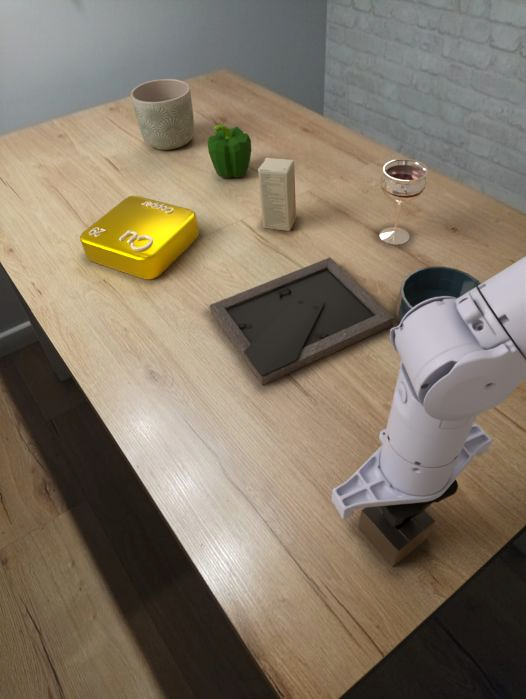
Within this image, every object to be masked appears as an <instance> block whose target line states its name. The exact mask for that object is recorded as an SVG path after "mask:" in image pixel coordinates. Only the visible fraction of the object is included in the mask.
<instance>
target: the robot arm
mask: <svg viewBox="0 0 526 699" xmlns="http://www.w3.org/2000/svg"><path fill="white" fill-rule="evenodd" d="M478 287H479V289H480V290H479V289H478V288H477V287H475V288H473V289H472V290H470V291H469V292H467V293H465V294H464V295H462V296H461V297H459V298H455V297H450V296H441V297H434V298H431V299H428V300H425V301H423V302H421V303H419V304H417V305H416V306H414V307H413V308H412V309H410V310H409V311H408V312H407V313H406V314H405V316H404V317H403V318H402V320H401V322H400V324H399V323H398V325H397V326H394V327H392V328H391V329H389V339H390V342H391V345H392V347H393V349H394V350H395V352H396V353H397V354H398V356H399V358H400V362H399V371H398V374H397V381H396V384H395V388H394V392H393V397H392V402H391V406H390V411H389V414H388V420H387V424H386V428H385V429H382V430H380V431H379V435H378V440H379V442H380V443H381V445H380V446H379V448H377V450H376V451H374V453H372V455H371V456H369V458H368V459H367V460H366V461H365V462H364V463H363V464H361V466H360V467H359V468H358V469H357V470H356V471H355V472H354V473H353V474H352V475H351V476H350V477H349V478H348V479H347V480H346V481H344V482H343V483H341V484H339V485H338V486H335V487H334V488H332V489H331V490H332V491H331V503H332V504H333V506H334V507H335V509H336V511H337V512H338V514H339V515H340V518H341V519H342V521H345V520H347V519H348V518H351V517H353V516H354V512H355V510H359V509H364V508H366V507H376V506H381V510H382V512H383V514H384V515H385V517H386V518H387V520H388V521H389V523H390V524H391V526H392V527H395V526H397V525H399V524H401V523H402V522H403V521H404V519H405V518H407V517H409V518H410V519H412V518H414V517H416V516H418V515H419V514H420V513H422V512H423V511H424V510H425V511H426V509H427V508H429V507H430V506H431V505H432V504H433V503H440V502H441V501H443V500H445V499H448V498H450V497H452V496H454V495H456V493H457V491H458V488H459V484H458V483H459V482H458V480H457V479H458V477H459V476H460V475H461V474H462V472H463V471H465V469H466V468H467V467H468V465H469V464H470V463H471V462H472V461H473V460H474V458H475V457H476V456H477V457H479V456H482V455H484V454H486V453H487V452H488V450H489V449H490V447H491V445H492V443H493V439H492V438H491V437H490V435H489V434H488V433H487V432H486V431H485V430H484V429H483V427H481V426H480V425H479V424H478V423H475V421H476V420H477V417H478V415H481V414H483V413H486V412H488V411H490V410H492V409H494V408H497V407H498V406H499V405H501V404H502V403H504V402H505V401H506V400H507V399H508V398H509V397H510V396H512V394H513V393H514V392H515V390H516V389H517V388H518V386H519V385H521V384H522V383H524V382H525V381H526V255H525V256H523V257H521V258H520V259H518V260H517V261H515V262H514V263H512V264H511V265H509V266H507V267H506V268H504V269H502V270H501V271H499V272H497V273H496V274H495V275H493V276H491V277H490V278H488V279H486V280H485V281H483V282H481V284H480V285H478ZM481 292H482V293H481ZM474 423H475V424H474Z"/></svg>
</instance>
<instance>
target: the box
mask: <svg viewBox="0 0 526 699" xmlns="http://www.w3.org/2000/svg"><path fill="white" fill-rule="evenodd" d="M257 174H258V183H259V194H260V205H261V206H260V208H261V218H262V227H263V228H264V229H271V230H278V231H286V232H290V231H291V230H292V228H293V226H294V223H295V222H296V220H297V204H296V202H297V201H296V200H297V199H296V172H295V160H294V159H284V158H275V157H274V158H272V157H266V158H265V159H264V160H263V162H262V163H261V165H260V166H259V168H258V169H257Z"/></svg>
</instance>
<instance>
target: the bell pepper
mask: <svg viewBox="0 0 526 699" xmlns="http://www.w3.org/2000/svg"><path fill="white" fill-rule="evenodd" d="M213 129H214V131H215V133H214V135H211V136H208V139H207V142H206V144H207V151H208V155H209V157H210V160H211V163H212V166H213V169H214V170H215V172H216V174H217V175H218V176H219V177H220V178H222V179H230V178H232V177H234V178H241V177H243V176H245V175H246V174H247V172H248V170H249V167H250V163H251V157H252V156H251V155H252V140H251V137H250V136H249V134H248V133H247V132H246V133H244V131H243V130H242V129H241V128H240V127H238V126H235V127H232V128H230V129H229V127H228V126H226V125H224V124H218V125H216V126H214V127H213Z"/></svg>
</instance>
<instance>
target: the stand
mask: <svg viewBox="0 0 526 699" xmlns="http://www.w3.org/2000/svg"><path fill="white" fill-rule="evenodd" d="M435 523H436V520H435V519H434V518H433V517H432V515H430V514H429V513H428V512H427V511H426V509H425V510H424V511H423V512H422V513H420V514H419V515H418V516H416V517H414V518H412V519H410V518H409V517H407V518H405V519H404V521H403V522H402V524H401V527H400V529H397V528H396V527H392V526H391V524H390V523H389V521H388V520H387V518H386V517H385V515H384V514H383V512H382V510H381V506H376V507H366V508H362V509H361V511H360V516H359V520H358V525H357V528H358V530H360V531H361V533H362V534H363V535H364V536H365V538H366V539H367V540H368V541H369V542H370V543H371V544H372V546H373V547H374V548H375V549H376V550H377V552H379V554H380V555H381V556H382V557H383V558H384V560H386V562H387V563H388V564H389V565H390V566H391V567H392V568H393V567H394V566H396V565H397V564H398V563H399V562H400V561H401V560H403V559H405V557H407V555H409V554H410V553H411V552H412V551H414V550H415V549H416V548H417V547H419V546H420V545H421V544H422V543H423V542H424V541H426V540H427V539H428V538H429V536H430V534H431V531H432V530H433V527H434V525H435Z"/></svg>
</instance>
